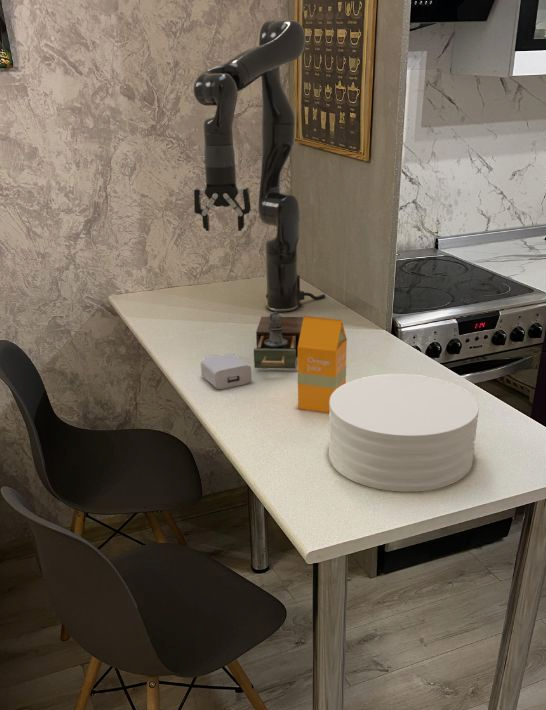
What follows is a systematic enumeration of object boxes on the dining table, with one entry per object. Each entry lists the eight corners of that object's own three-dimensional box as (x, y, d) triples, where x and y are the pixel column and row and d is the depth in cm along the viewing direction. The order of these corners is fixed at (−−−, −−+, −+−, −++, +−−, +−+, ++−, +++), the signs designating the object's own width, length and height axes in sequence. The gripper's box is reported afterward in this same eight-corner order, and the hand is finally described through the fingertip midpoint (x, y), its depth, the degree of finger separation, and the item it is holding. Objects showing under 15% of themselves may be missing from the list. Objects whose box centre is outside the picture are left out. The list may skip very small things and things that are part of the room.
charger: (226, 362, 192) (251, 382, 181) (192, 369, 188) (216, 390, 177) (225, 345, 190) (250, 364, 178) (191, 351, 186) (214, 371, 174)
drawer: (294, 376, 182) (293, 357, 179) (252, 375, 182) (251, 357, 180) (298, 352, 196) (298, 334, 193) (259, 351, 196) (258, 334, 194)
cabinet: (300, 356, 195) (300, 332, 192) (257, 355, 196) (256, 331, 193) (303, 339, 206) (303, 316, 203) (262, 339, 207) (261, 316, 204)
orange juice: (335, 414, 165) (336, 325, 155) (297, 408, 168) (296, 321, 158) (345, 399, 171) (347, 314, 161) (309, 394, 174) (308, 310, 164)
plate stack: (405, 509, 131) (410, 451, 126) (299, 453, 150) (299, 400, 144) (501, 457, 147) (509, 403, 141) (395, 412, 165) (398, 363, 160)
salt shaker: (291, 357, 189) (290, 310, 183) (269, 361, 187) (268, 314, 181) (282, 349, 194) (281, 304, 188) (261, 353, 192) (259, 307, 186)
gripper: (250, 161, 191) (252, 227, 199) (194, 161, 192) (199, 227, 200) (246, 165, 185) (249, 233, 193) (188, 166, 186) (194, 233, 194)
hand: (223, 230), depth 197 cm, fingers open, 8 cm apart
